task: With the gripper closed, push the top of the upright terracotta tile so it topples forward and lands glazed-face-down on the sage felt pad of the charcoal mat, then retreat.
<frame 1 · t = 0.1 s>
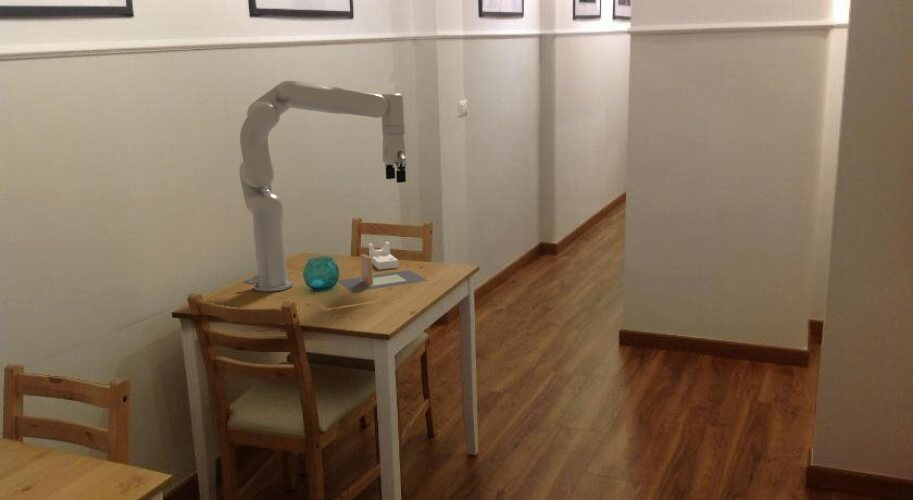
hand: (395, 180, 284), 31 cm above the table, fingers open, 9 cm apart
mat: (382, 282, 274), on the table
bracket: (384, 267, 295), on the table
tile: (367, 282, 272), point 1 cm above the table, touching mat
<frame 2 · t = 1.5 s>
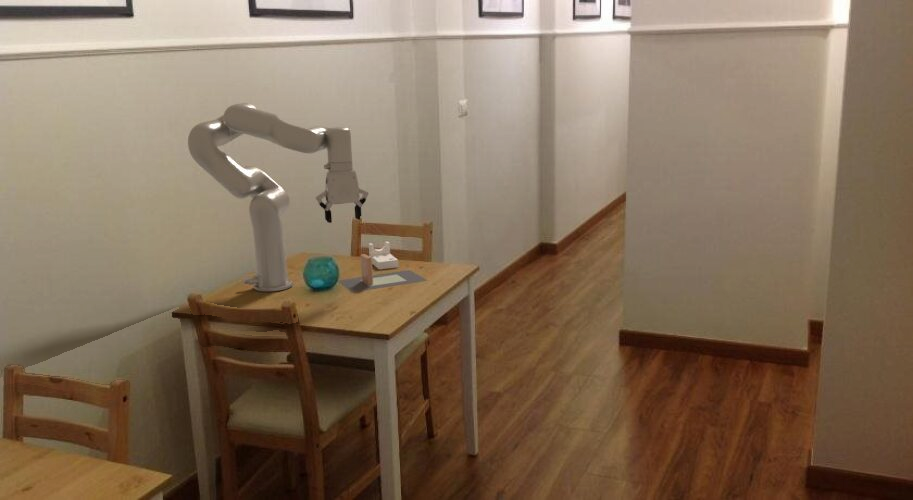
hand: (343, 220, 264), 22 cm above the table, fingers open, 9 cm apart
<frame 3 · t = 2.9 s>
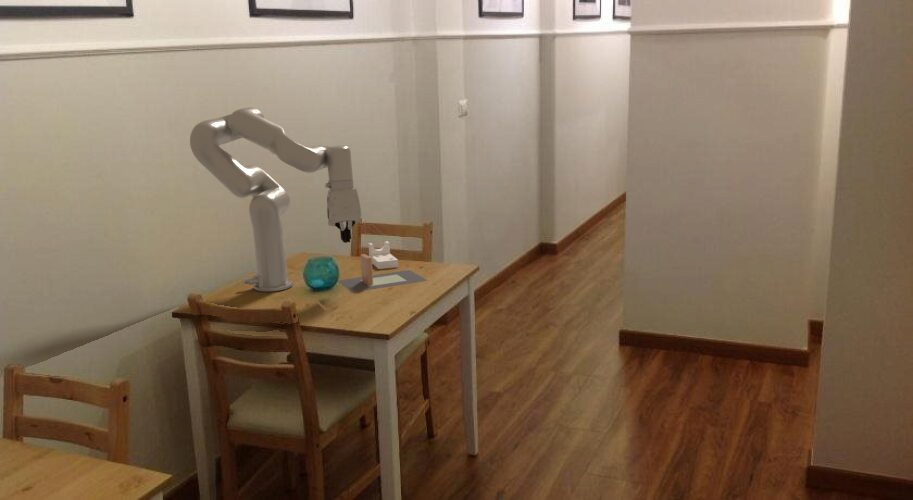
hand: (346, 241, 266), 15 cm above the table, fingers closed
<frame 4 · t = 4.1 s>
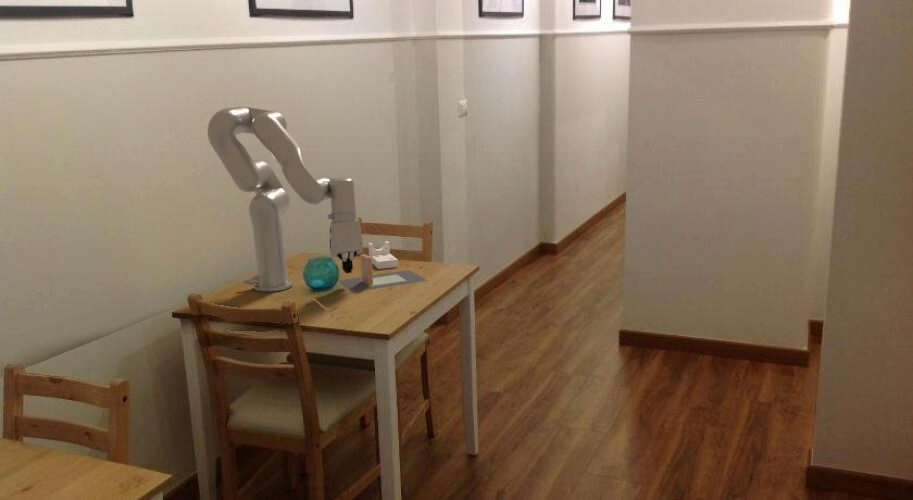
hand: (347, 272, 268), 5 cm above the table, fingers closed
nothing on the table moved.
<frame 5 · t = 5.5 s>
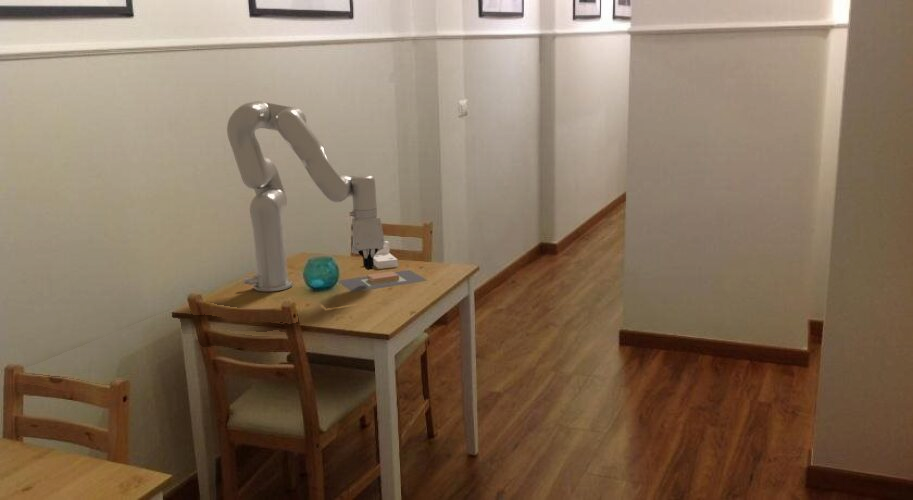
hand: (368, 268, 271), 5 cm above the table, fingers closed
tile: (370, 279, 272), point 2 cm above the table, tilted 90°, touching mat
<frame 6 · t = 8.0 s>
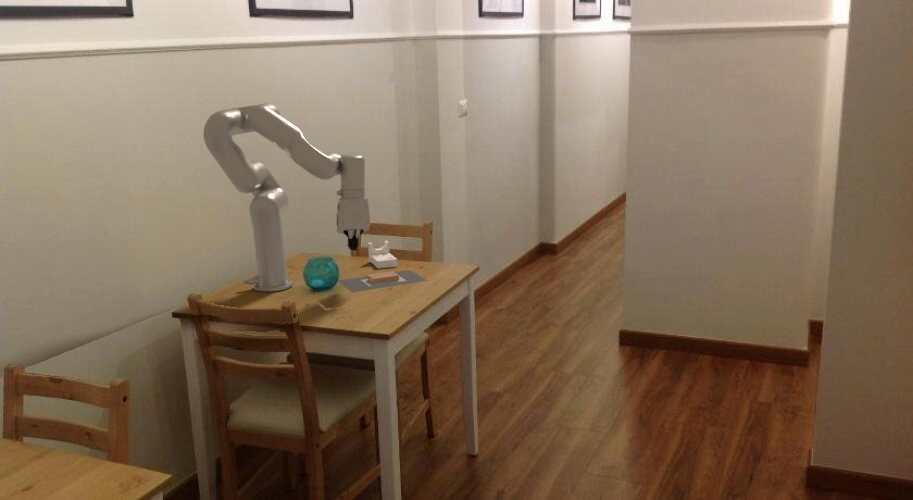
hand: (353, 249, 268), 12 cm above the table, fingers closed
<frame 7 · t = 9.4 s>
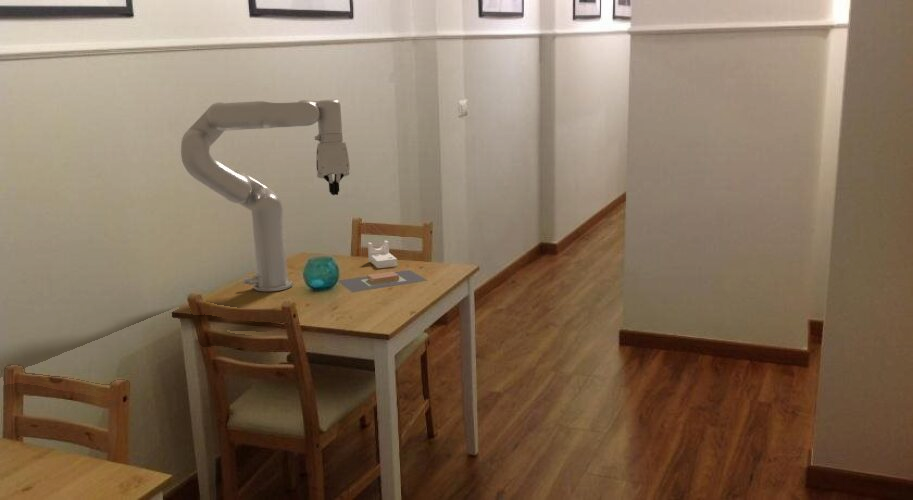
hand: (334, 194, 273), 29 cm above the table, fingers closed
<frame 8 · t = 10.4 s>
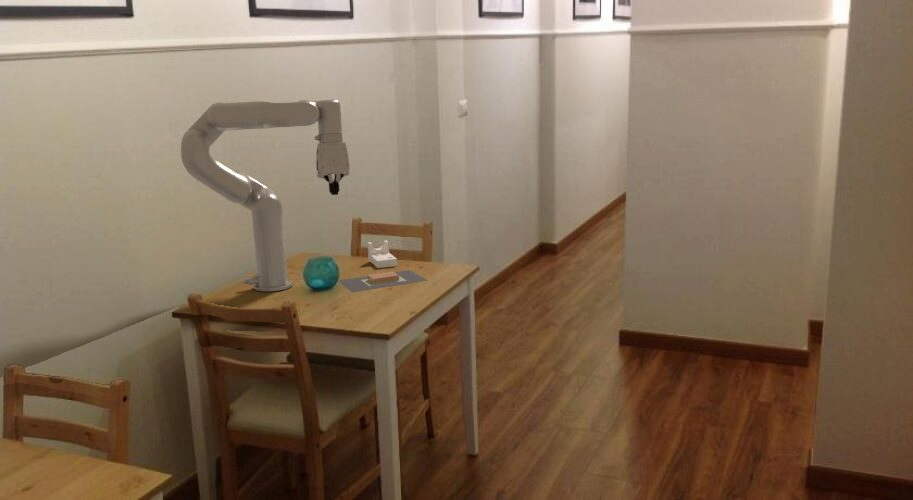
hand: (334, 194, 273), 29 cm above the table, fingers closed
at the end: tile tilted 90°; tile inside the target area (5.1 cm from its centre), point 1.5 cm above the table; tile touching mat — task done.
